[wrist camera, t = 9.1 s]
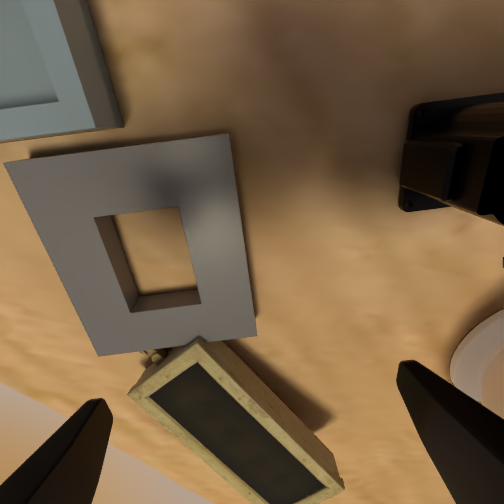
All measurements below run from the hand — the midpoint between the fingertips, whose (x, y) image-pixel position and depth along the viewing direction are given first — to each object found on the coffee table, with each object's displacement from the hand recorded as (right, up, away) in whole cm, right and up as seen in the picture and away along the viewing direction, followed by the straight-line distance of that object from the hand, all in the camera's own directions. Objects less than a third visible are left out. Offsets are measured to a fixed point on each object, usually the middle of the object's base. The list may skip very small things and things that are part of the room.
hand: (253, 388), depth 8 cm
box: (-2, -9, +18) cm, 20 cm away
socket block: (-7, +4, +11) cm, 13 cm away
